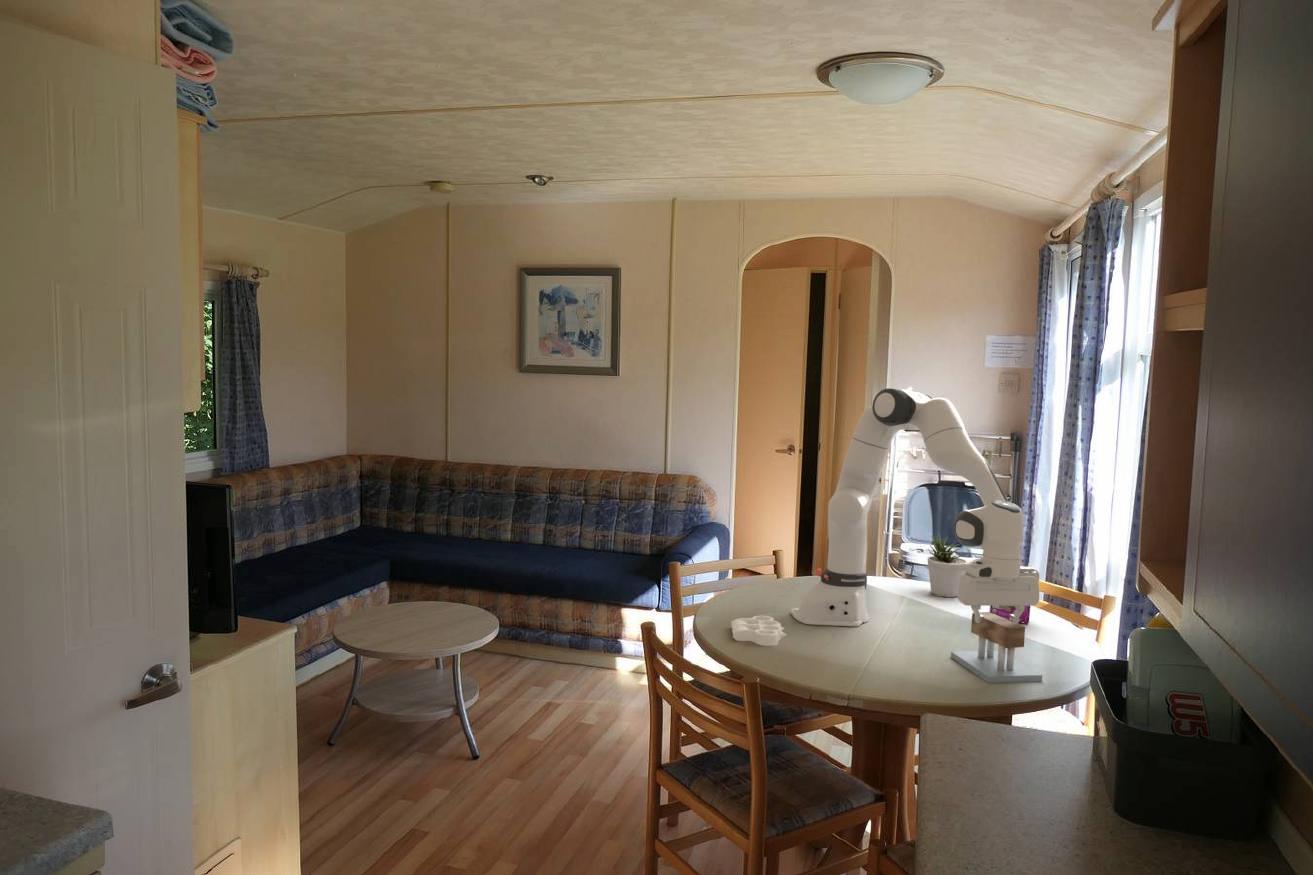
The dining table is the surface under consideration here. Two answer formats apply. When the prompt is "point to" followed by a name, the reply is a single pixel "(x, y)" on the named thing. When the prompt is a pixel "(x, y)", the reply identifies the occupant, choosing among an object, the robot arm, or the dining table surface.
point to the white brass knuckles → (758, 630)
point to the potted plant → (944, 569)
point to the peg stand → (995, 664)
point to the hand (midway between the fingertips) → (996, 622)
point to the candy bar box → (1011, 610)
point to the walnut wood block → (999, 630)
